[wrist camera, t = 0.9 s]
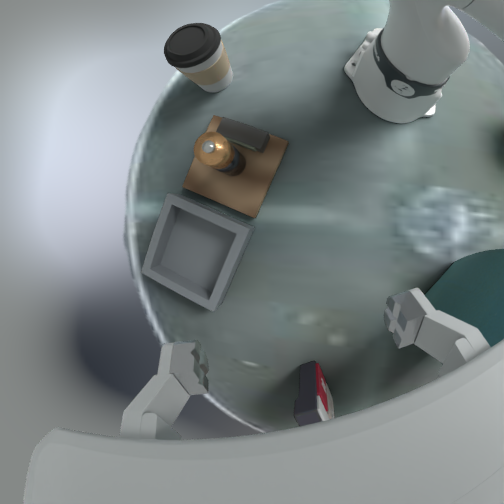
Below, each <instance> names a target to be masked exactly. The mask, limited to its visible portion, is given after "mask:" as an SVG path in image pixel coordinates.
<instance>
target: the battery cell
mask: <svg viewBox="0 0 504 504" xmlns="http://www.w3.org/2000/svg"><path fill="white" fill-rule="evenodd" d="M194 154H195V157H196V158H197V160H198V161H199V162H201V163H203V164H205V165H207V166H209V167H211V168H213V169H216V170H218V171H220V172H222V173H224V174H226V175H228V176H237V175H239V174H241V173H242V172H243V171H244V169H245V166H246V160H245V157H244V156H243V154H241V153H240V152H239V151H238V150H237V149H236V148H235V147H234V146H233V145H232V144H231V143H230V142H229V141H228V140H227V139H226V138H225V137H224V136H222V135H221V134H220V133H218V132H206V133H204V134H202V135H201V136H200V137H199V138H198V139H197V141H196V142H195V145H194Z"/></svg>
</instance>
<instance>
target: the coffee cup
mask: <svg viewBox="0 0 504 504" xmlns="http://www.w3.org/2000/svg"><path fill="white" fill-rule="evenodd" d="M164 54H165V57H166V59H167V61H168V63H169V64H170V65H172V66H174V67H176V69H177V70H179V71H180V72H181V73H183V74H184V75H185V76H186V77H188V78H189V79H190V80H192V81H193V82H194V83H196V84H197V85H199V86H200V87H201V88H202V89H203V90H205V91H207V92H219V91H221V90H223V89H225V88H226V87H228V86H229V85H230V83H231V82H232V79H233V72H232V69H231V67H230V62H229V59H228V56H227V53H226V50H225V48H224V45H223V42H222V40H221V37H220V33H219V32H218V30H217V29H215V28H214V27H212V26H210V25H207V24H204V23H193V24H187V25H184V26H182V27H180V28H178V29H177V30H176V31H174V32H173V33H172V34H171V35H170V37H169V38H168V40H167V41H166V43H165V47H164Z"/></svg>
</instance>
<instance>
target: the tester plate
mask: <svg viewBox="0 0 504 504" xmlns="http://www.w3.org/2000/svg"><path fill="white" fill-rule="evenodd" d="M206 132H218V133H220V134H221V135H222V136H224V137H225V138H226V139H227V140H228V141H229V142H230V143H231V144H232V145H233V146H234V147H235V148H236V149H237V150H238V151H239V152H240V153H241V154H243V156H244V157H245V160H246V166H245V169H244V171H243V172H242V173H241V174H239V175H237V176H228V175H226V174H224V173H222V172H220V171H218V170H216V169H213V168H211V167H209V166H207V165H205V164H203V163H201V162H199V161H198V160H197V158H196V157H194V160H193V162H192V164H191V167H190V169H189V171H188V174H187V176H186V179H185V181H184V184H183V186H182V187H184V188H186V189H188V190H191V191H193V192H195V193H198V194H200V195H202V196H205V197H207V198H209V199H212V200H214V201H216V202H219V203H221V204H223V205H226V206H228V207H230V208H232V209H235V210H237V211H239V212H242V213H244V214H246V215H248V216H251V217H253V218H256V216H257V214H258V212H259V210H260V207H261V205H262V203H263V200H264V198H265V196H266V194H267V191H268V189H269V187H270V185H271V182H272V180H273V178H274V176H275V173H276V171H277V169H278V166H279V164H280V162H281V160H282V157H283V155H284V153H285V151H286V149H287V146H288V144H289V142H288V141H286V140H284V139H281V138H279V137H276V136H273V135H271V134H269V133H268V132H266V131H263V130H260V129H258V128H255V127H252V126H249V125H246V124H243V123H240V122H237V121H234V120H231V119H228V118H225V117H223V118H221V117H218V116H215V115H214V116H213V118H212V120H211V122H210V124H209V126H208V128H207V131H206Z"/></svg>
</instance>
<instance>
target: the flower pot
mask: <svg viewBox="0 0 504 504" xmlns="http://www.w3.org/2000/svg"><path fill="white" fill-rule="evenodd" d="M425 297H426V298H427V299H428V301H429V302H430V303H431V305H432V306H433V307H434V309H435V310H436V311H437V310H440V311H442V312H444V313H446V314H448V315H450V316H452V317H455V318H457V319H459V320H461V321H463V322H465V323H467V324H469V325H471V326H474V327H476V328H478V330H479V331H480V332H481V334H482V335H483V337H484V338H485V340H486V341H487V342H488V344H489V345H490V347H493V346H494V345H496V344H497V343H498V342H500V341H501V340H503V339H504V249H495V250H488V251H483V252H479V253H475V254H472V255H469V256H466V257H464V258H461V259H459V260H457V261H455V262H454V263H453V264H452V265H451V266H450V268H449V269H448V270H447V271H446V272H445V273H444V274H443V276H442V277H441V278H440V279H439V280H438V281H437V282H436V283H435V284H434V285H433V286H432V288H431V289H430V290H429V291H428V292H427V293H426V294H425ZM442 365H443V363H442Z"/></svg>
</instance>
